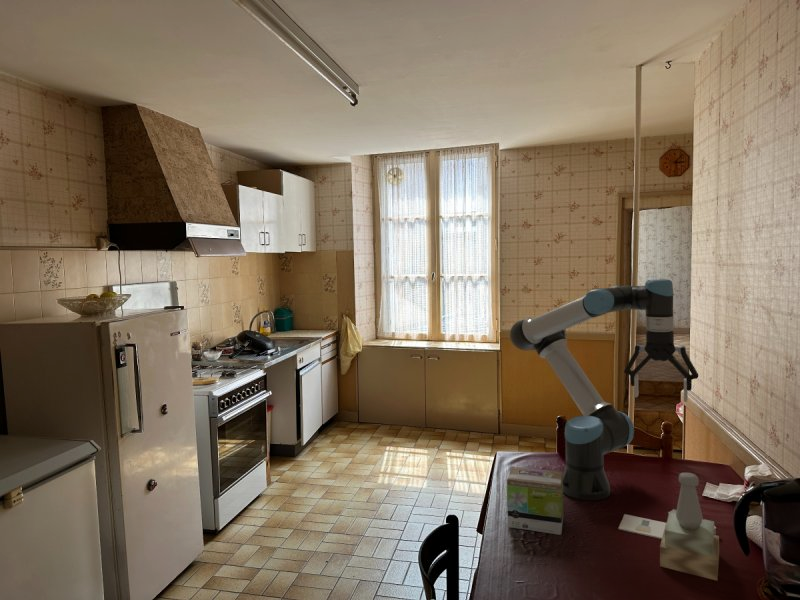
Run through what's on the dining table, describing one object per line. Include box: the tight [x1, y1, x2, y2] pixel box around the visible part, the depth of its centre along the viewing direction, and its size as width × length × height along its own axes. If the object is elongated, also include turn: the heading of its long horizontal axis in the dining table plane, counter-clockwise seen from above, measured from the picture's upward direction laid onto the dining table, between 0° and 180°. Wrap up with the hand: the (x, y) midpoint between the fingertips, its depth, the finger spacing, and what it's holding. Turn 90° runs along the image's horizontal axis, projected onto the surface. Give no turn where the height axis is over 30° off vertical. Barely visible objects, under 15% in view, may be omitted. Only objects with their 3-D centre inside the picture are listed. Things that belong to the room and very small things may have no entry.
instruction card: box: [618, 513, 667, 540], centre depth 145 cm, size 12×9×1 cm
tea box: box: [506, 466, 564, 536], centre depth 150 cm, size 15×10×15 cm, turn 70°
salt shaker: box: [675, 472, 704, 530], centre depth 128 cm, size 6×6×13 cm
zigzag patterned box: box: [659, 513, 720, 581], centre depth 128 cm, size 12×12×9 cm
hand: (660, 398), depth 159 cm, fingers open, 13 cm apart
